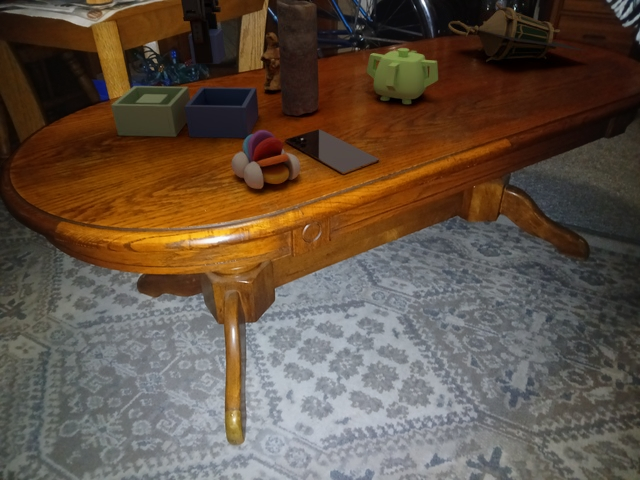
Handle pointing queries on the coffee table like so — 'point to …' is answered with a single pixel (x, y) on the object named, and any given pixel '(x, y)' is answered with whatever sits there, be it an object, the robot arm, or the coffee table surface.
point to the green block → (154, 99)
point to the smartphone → (332, 151)
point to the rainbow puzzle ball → (264, 161)
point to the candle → (298, 56)
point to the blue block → (212, 46)
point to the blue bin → (222, 112)
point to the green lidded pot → (401, 74)
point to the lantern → (513, 35)
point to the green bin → (151, 112)
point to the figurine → (271, 64)
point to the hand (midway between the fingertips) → (208, 58)
